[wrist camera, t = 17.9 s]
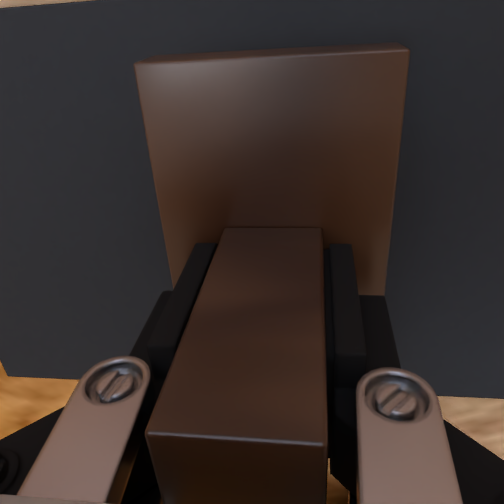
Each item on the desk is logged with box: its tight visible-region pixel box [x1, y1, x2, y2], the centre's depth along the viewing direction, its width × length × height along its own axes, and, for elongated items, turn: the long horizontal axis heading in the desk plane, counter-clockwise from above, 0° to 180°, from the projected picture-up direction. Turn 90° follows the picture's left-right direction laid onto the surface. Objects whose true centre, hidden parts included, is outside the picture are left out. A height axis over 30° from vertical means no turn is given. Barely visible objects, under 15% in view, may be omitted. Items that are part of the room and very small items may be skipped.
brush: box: [133, 42, 410, 504], centre depth 11 cm, size 6×12×9 cm, turn 4°
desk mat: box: [0, 0, 504, 399], centre depth 15 cm, size 22×14×1 cm, turn 94°
